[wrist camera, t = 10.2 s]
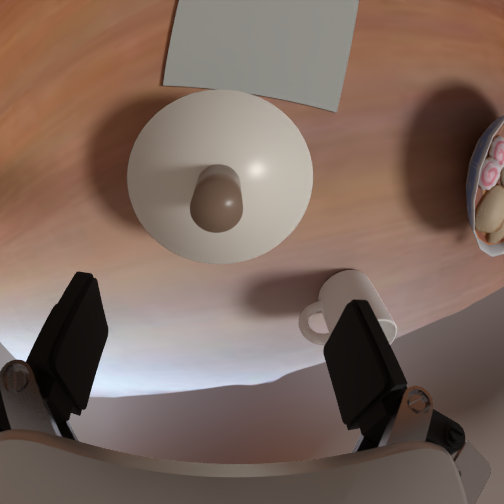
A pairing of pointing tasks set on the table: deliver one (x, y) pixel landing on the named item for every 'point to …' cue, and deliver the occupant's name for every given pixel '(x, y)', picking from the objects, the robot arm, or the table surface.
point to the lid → (219, 176)
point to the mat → (264, 48)
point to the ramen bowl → (487, 190)
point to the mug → (337, 297)
